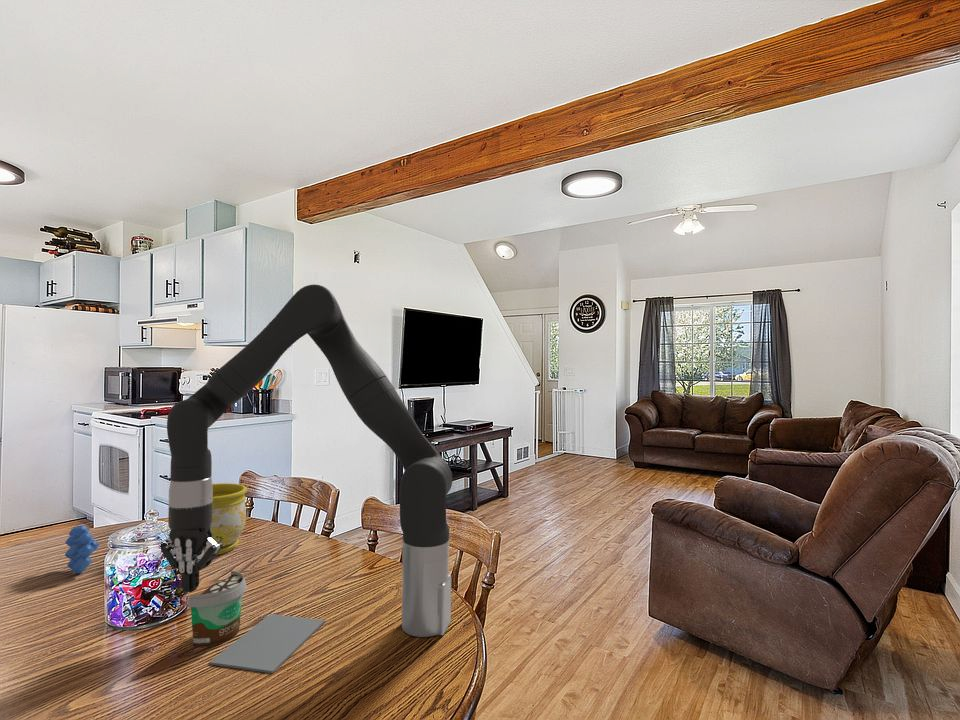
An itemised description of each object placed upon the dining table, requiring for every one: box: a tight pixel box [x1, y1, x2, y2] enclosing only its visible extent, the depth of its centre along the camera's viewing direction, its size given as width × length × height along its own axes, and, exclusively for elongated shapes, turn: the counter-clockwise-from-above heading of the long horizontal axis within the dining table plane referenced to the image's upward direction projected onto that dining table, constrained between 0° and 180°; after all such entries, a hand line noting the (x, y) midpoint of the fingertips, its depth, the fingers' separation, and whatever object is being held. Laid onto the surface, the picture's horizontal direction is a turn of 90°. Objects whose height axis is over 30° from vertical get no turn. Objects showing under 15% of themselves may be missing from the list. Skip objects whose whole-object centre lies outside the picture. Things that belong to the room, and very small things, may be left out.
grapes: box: [64, 524, 101, 575], centre depth 130 cm, size 12×7×12 cm, turn 55°
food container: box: [187, 570, 248, 648], centre depth 101 cm, size 12×6×10 cm, turn 168°
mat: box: [208, 613, 326, 674], centre depth 99 cm, size 12×18×1 cm
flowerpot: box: [204, 482, 248, 556], centre depth 147 cm, size 18×18×16 cm
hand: (189, 590), depth 102 cm, fingers closed
